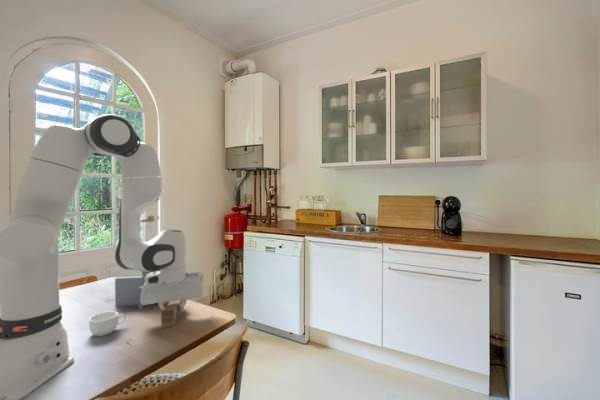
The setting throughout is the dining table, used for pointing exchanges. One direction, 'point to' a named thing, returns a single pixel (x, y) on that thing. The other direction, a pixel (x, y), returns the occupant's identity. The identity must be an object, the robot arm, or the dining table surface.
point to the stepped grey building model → (130, 290)
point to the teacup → (104, 322)
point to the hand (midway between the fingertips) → (172, 312)
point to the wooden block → (171, 313)
